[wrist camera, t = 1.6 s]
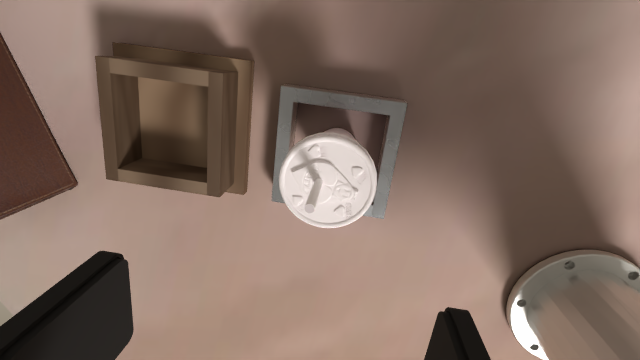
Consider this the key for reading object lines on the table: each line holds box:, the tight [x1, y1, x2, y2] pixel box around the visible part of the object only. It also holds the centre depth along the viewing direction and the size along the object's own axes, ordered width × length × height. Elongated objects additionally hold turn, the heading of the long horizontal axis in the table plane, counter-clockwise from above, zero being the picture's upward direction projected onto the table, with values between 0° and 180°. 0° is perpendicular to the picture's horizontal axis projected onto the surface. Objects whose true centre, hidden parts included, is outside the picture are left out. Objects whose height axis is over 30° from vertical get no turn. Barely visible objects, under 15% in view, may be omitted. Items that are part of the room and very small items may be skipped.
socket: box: [95, 43, 254, 197], centre depth 30 cm, size 12×12×4 cm
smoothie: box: [279, 128, 377, 228], centre depth 25 cm, size 6×6×14 cm
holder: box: [272, 84, 407, 219], centre depth 30 cm, size 10×10×2 cm
